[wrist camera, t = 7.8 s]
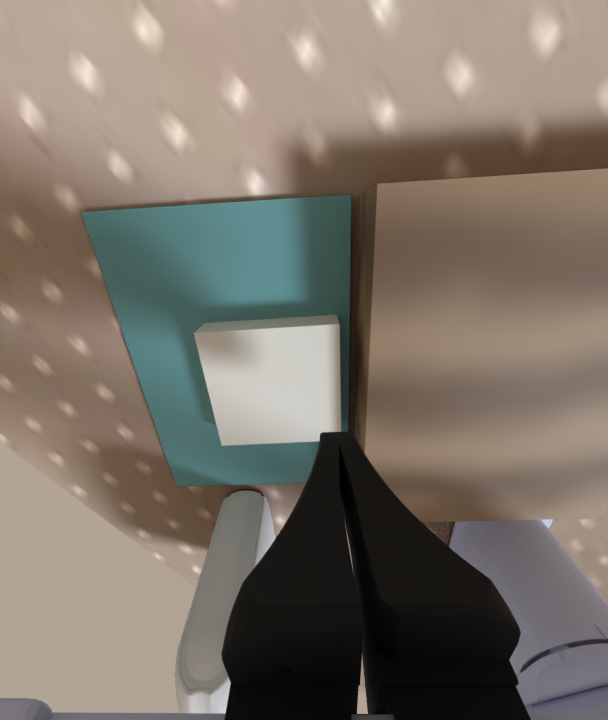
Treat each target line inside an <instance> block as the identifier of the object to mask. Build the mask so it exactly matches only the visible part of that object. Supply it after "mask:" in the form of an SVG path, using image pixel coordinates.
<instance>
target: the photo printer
mask: <svg viewBox="0 0 608 720" xmlns="http://www.w3.org/2000/svg"><path fill="white" fill-rule="evenodd" d="M274 540H275V533H274V527H273V522H272V517H271V512H270V508H269V504H268V501H267V499H266V497H265V496H261V494H260V493H258V492H255V491H249V490H244V491H237V492H234V493H232V494H231V495H230V496H229V497H226V498H225V499H224V501H223V503H222V506H221V509H220V512H219V515H218V519H217V522H216V525H215V529H214V532H213V535H212V539H211V542H210V545H209V549H208V552H207V555H206V558H205V562H204V565H203V568H202V572H201V575H200V578H199V582H198V585H197V588H196V592H195V595H194V598H193V601H192V605H191V608H190V611H189V614H188V618H187V621H186V624H185V628H184V631H183V634H182V637H181V641H180V644H179V648H178V653H177V659H176V670H175V682H176V683H175V684H176V696H177V702H178V707H179V712H180V713H226V708H227V702H228V696H229V690H230V685H231V682H230V680H229V677H228V675H227V672H226V669H225V667H224V664H223V662H222V656H221V652H222V647H223V643H224V638H225V633H226V628H227V624H228V621H229V617H230V614H231V611H232V608H233V605H234V603H235V600H236V597H237V595H238V593H239V590H240V588H241V586H242V583H243V581H244V580H245V579H246V578H247V576H248V575H249V574H250V572H251V571H252V570H253V569H254V567H255V566H256V565H257V564H258V562H259V561H260V560H261V559H262V557H263V556H264V555H265V553H266V552H267V550H268V549H269V548H270V546H271V545H272V543H273V542H274Z"/></svg>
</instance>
